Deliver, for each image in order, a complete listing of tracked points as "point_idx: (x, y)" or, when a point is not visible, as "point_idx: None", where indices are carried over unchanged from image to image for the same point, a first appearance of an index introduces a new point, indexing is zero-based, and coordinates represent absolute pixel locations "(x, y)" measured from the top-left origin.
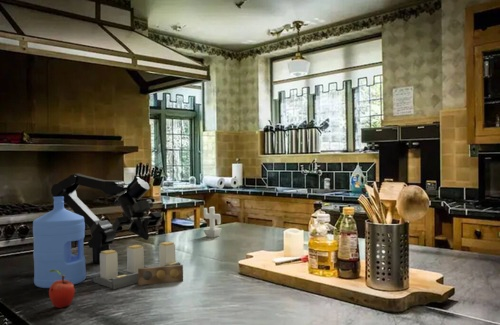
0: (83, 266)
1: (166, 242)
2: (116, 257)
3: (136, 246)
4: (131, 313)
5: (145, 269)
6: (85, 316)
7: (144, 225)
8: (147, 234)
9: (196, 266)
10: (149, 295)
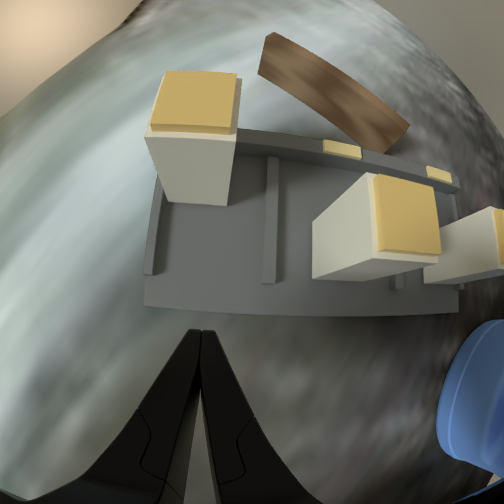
0: (495, 345)
1: (186, 106)
2: (478, 213)
3: (412, 194)
4: (438, 69)
5: (387, 108)
6: (487, 123)
7: (159, 482)
8: (185, 358)
9: (82, 152)
10: (392, 81)
